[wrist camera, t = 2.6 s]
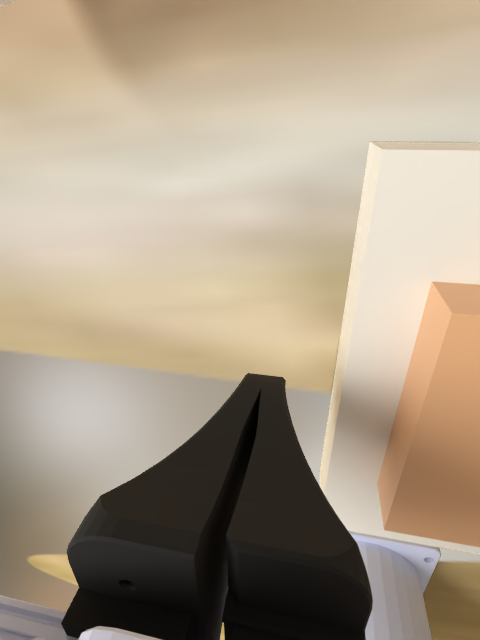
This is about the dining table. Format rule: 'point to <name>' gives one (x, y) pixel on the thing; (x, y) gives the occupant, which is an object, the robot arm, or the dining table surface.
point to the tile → (438, 425)
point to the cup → (6, 2)
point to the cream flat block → (394, 309)
